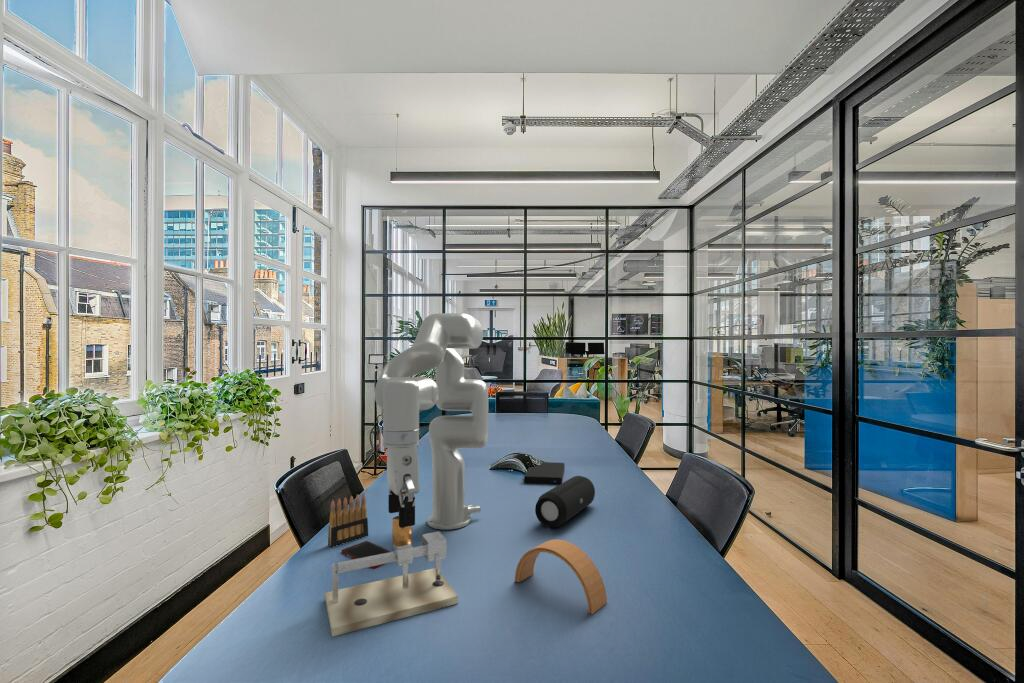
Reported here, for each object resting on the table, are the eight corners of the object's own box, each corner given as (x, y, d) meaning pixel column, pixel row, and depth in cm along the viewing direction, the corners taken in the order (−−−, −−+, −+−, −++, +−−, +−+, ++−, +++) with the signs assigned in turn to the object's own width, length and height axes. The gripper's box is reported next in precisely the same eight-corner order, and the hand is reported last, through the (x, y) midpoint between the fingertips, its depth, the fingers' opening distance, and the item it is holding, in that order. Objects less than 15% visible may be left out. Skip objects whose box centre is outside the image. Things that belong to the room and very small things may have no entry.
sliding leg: (409, 576, 104) (408, 514, 104) (415, 588, 99) (415, 522, 99) (390, 581, 102) (390, 517, 102) (396, 592, 97) (396, 525, 97)
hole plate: (436, 574, 109) (436, 567, 109) (457, 603, 97) (457, 595, 97) (325, 599, 98) (325, 592, 98) (332, 636, 86) (332, 627, 86)
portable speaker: (563, 533, 132) (563, 497, 133) (532, 526, 138) (532, 492, 138) (597, 507, 154) (597, 476, 154) (569, 501, 159) (569, 472, 159)
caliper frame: (439, 571, 107) (439, 531, 107) (448, 582, 102) (447, 540, 102) (331, 595, 97) (330, 551, 97) (334, 610, 92) (334, 563, 92)
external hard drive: (564, 469, 201) (564, 462, 201) (561, 485, 178) (561, 477, 179) (531, 468, 204) (531, 461, 204) (524, 484, 181) (524, 476, 181)
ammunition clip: (331, 547, 124) (330, 501, 124) (327, 545, 126) (327, 500, 126) (368, 535, 132) (368, 492, 132) (365, 534, 133) (365, 491, 133)
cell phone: (373, 571, 112) (372, 567, 112) (340, 553, 121) (340, 550, 121) (400, 559, 118) (400, 555, 118) (366, 544, 127) (366, 540, 127)
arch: (531, 572, 110) (530, 529, 110) (607, 603, 97) (606, 553, 97) (514, 582, 106) (514, 536, 106) (591, 615, 92) (591, 563, 92)
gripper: (430, 442, 95) (430, 529, 95) (408, 430, 111) (408, 504, 110) (392, 446, 92) (392, 535, 91) (375, 433, 107) (375, 509, 107)
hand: (401, 518), depth 101 cm, fingers open, 9 cm apart
